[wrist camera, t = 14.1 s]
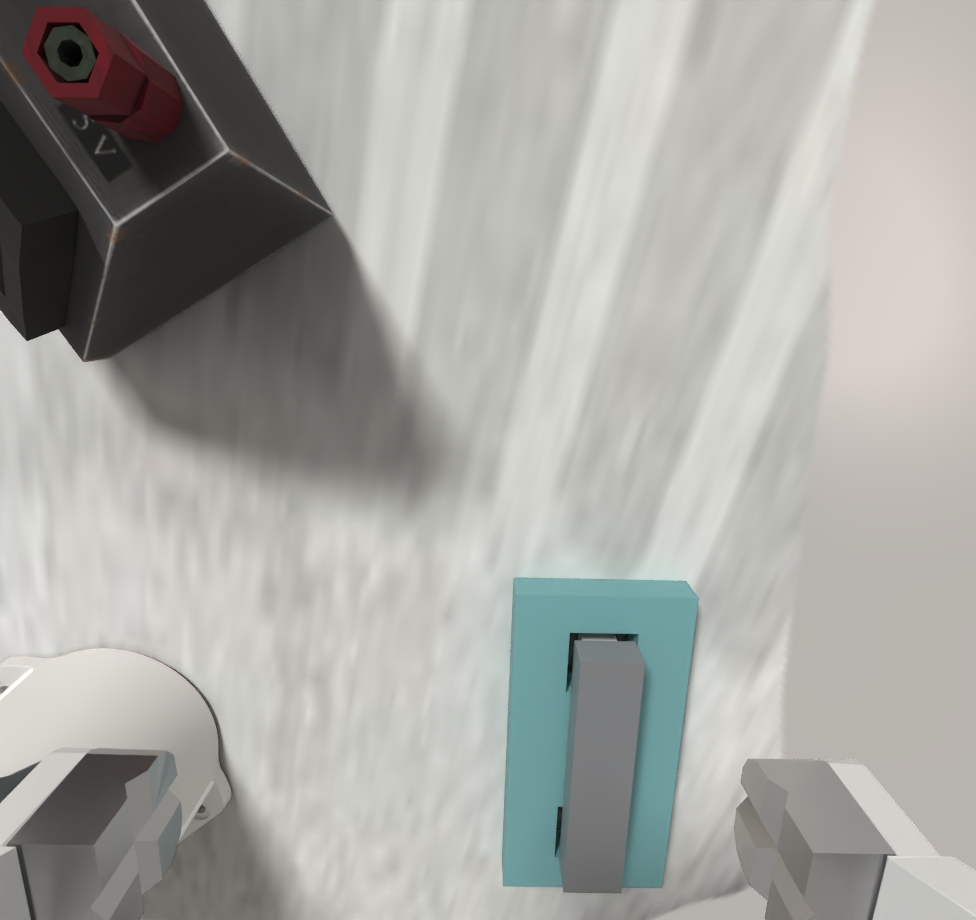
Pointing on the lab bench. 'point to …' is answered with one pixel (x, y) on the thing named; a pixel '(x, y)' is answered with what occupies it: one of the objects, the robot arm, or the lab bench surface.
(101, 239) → the voltmeter
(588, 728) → the pin bar
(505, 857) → the mounting plate
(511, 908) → the lab bench surface
